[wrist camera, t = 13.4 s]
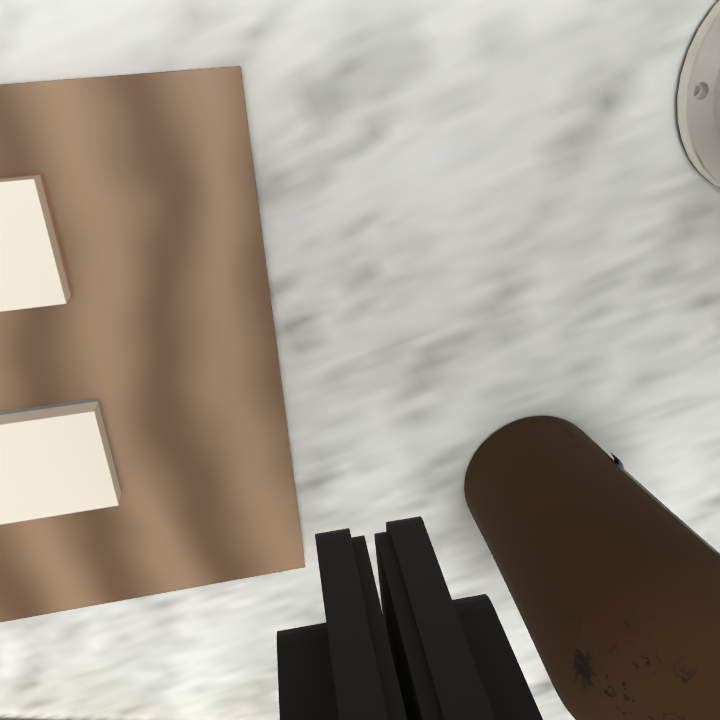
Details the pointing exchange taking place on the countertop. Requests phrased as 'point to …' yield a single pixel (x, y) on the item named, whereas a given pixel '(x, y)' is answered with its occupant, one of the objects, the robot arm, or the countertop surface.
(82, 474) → the tile
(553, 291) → the countertop surface
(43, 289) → the tile
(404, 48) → the countertop surface
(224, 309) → the board
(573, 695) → the olive oil
